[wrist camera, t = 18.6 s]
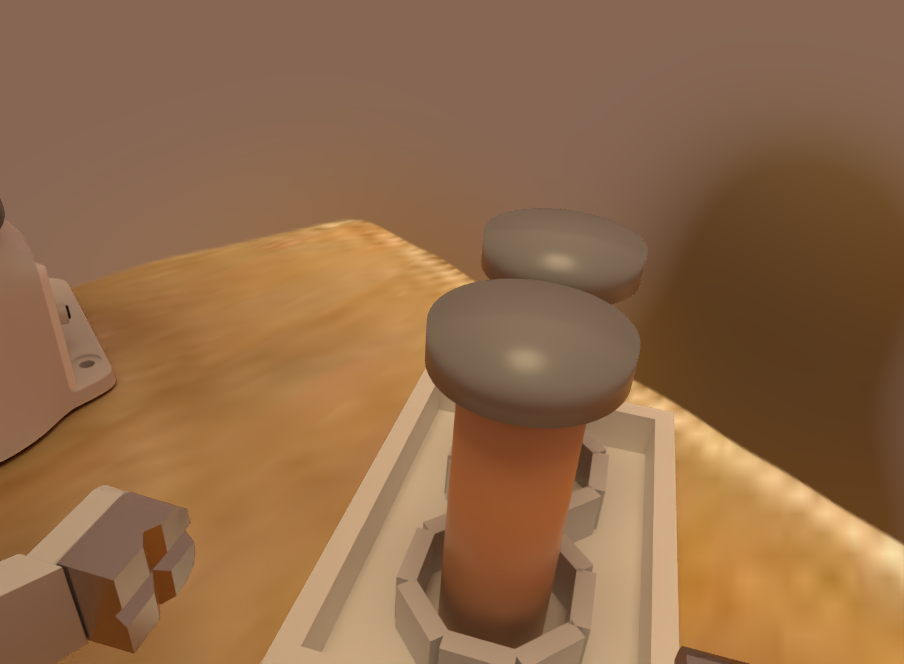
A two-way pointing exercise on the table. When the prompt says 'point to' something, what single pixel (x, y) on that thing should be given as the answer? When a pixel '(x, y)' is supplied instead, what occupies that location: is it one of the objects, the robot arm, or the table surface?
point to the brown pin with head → (517, 438)
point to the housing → (422, 542)
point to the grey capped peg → (565, 251)
